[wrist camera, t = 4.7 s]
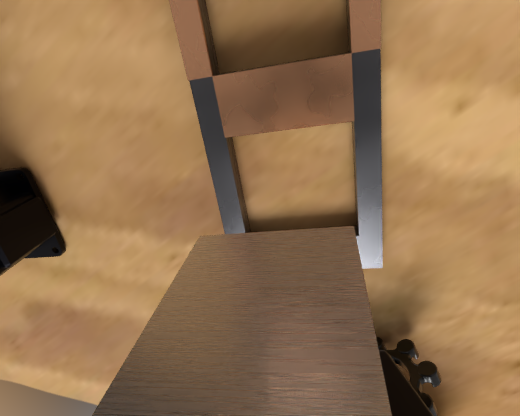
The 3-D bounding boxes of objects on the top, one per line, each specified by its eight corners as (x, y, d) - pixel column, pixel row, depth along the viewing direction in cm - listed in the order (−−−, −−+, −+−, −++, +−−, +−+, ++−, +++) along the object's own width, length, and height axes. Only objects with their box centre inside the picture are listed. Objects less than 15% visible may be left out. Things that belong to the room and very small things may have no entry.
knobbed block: (229, 344, 12) (111, 751, 5) (200, 235, 10) (-47, 644, 3) (359, 344, 11) (429, 840, 4) (353, 225, 9) (461, 761, 2)
